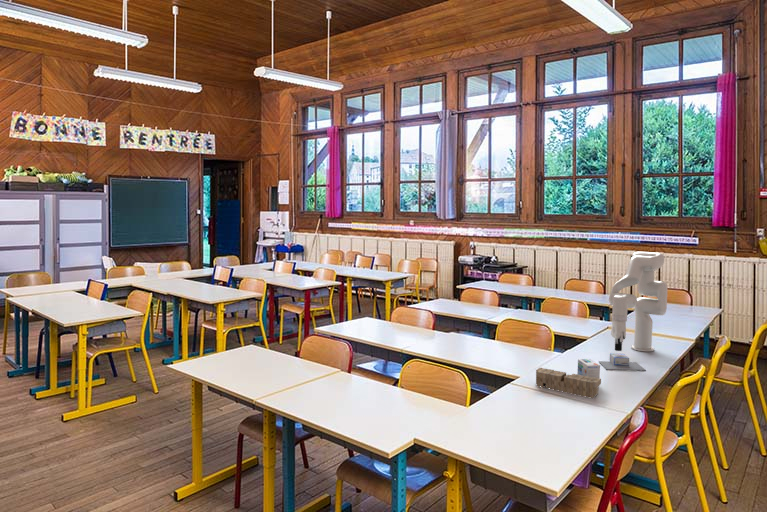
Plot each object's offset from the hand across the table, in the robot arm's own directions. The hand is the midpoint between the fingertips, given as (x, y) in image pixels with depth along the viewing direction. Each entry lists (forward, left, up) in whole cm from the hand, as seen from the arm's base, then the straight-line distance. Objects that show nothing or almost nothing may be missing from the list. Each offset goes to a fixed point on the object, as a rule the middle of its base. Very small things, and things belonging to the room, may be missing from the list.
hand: (618, 350), depth 295 cm
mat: (+6, 0, -7) cm, 10 cm away
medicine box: (-2, 0, -4) cm, 5 cm away
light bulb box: (+36, -26, -8) cm, 45 cm away
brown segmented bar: (+47, -39, -8) cm, 62 cm away
